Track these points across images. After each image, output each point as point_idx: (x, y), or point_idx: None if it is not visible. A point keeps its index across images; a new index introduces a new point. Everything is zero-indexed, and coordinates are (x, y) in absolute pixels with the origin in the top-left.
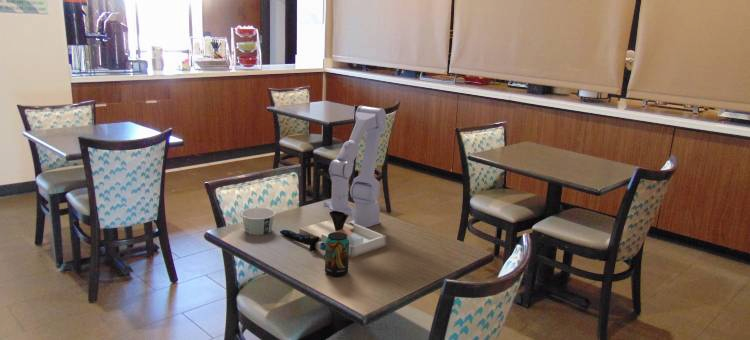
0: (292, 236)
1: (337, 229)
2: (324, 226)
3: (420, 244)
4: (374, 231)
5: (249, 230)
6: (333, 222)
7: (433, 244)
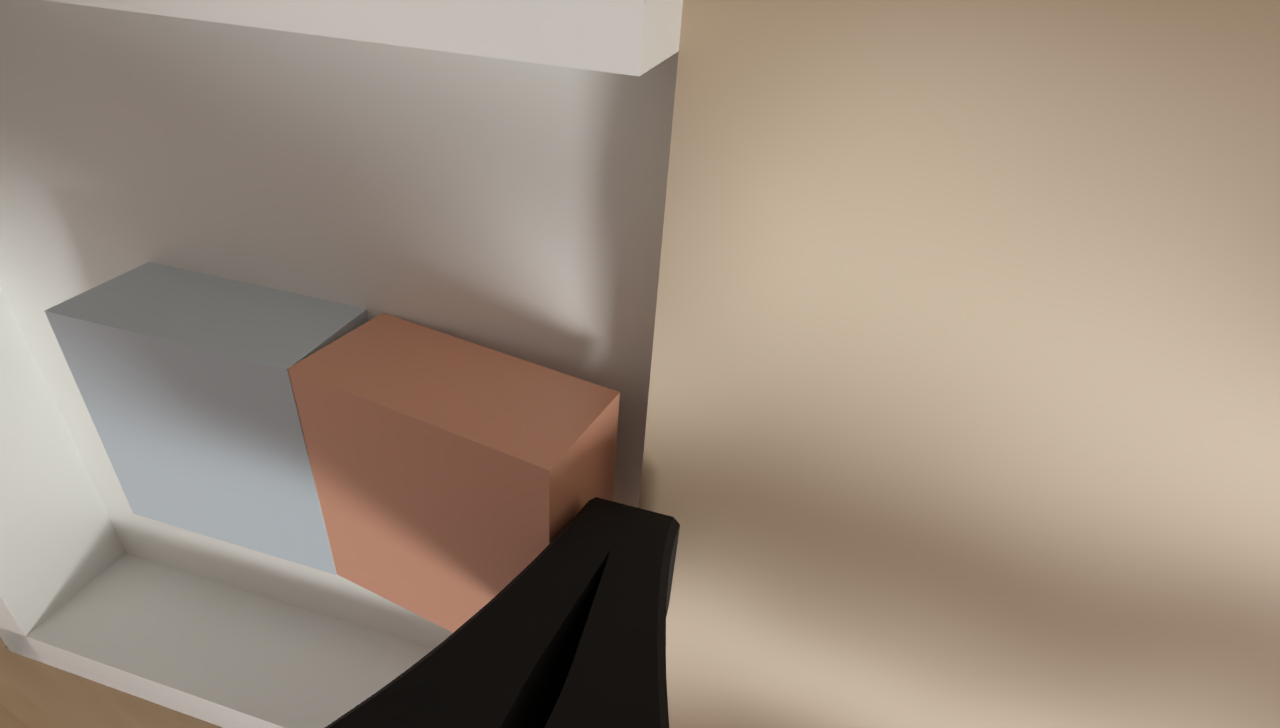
0: None
1: (560, 536)
2: (1188, 677)
3: (69, 686)
4: (193, 714)
5: None
6: (657, 714)
7: (44, 716)
